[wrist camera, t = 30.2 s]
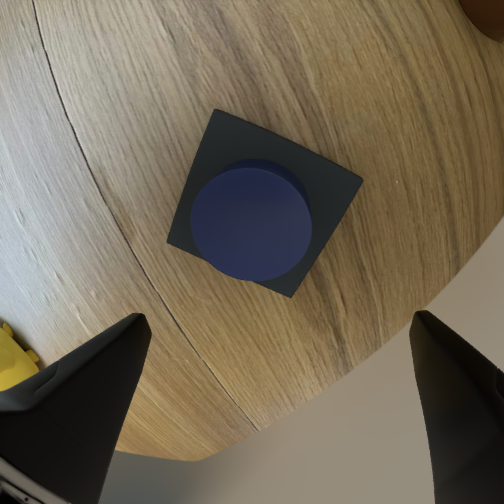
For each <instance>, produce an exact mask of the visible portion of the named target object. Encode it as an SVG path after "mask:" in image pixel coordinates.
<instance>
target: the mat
mask: <svg viewBox="0 0 504 504" xmlns="http://www.w3.org/2000/svg"><path fill="white" fill-rule="evenodd" d="M246 159H263V160H268V161H272V162H274V163H277V164H279V165H281V166H283V167H285V168H286V169H288V170H289V171H290V172H292V173H293V174H294V175H295V176H296V177H297V178H298V180H299V181H300V182H301V184H302V185H303V187H304V189H305V191H306V193H307V196H308V199H309V204H310V211H311V218H312V237H311V241H310V245H309V247H308V249H307V252H306V254H305V255H304V257H303V258H302V259H301V261H300V262H299V263H298V264H297V265H296V266H295V267H294V268H292V269H291V270H290V271H288V272H287V273H285V274H283V275H281V276H279V277H276V278H273V279H269V280H264V281H252V282H255V283H257V284H259V285H262V286H264V287H266V288H268V289H271V290H273V291H275V292H278V293H280V294H282V295H285V296H287V297H289V298H291V297H292V296H293V294H294V293H295V291H296V290H297V288H298V287H299V285H300V284H301V282H302V281H303V279H304V278H305V276H306V275H307V273H308V271H309V270H310V268H311V267H312V265H313V264H314V262H315V261H316V259H317V257H318V256H319V254H320V253H321V251H322V249H323V248H324V246H325V245H326V243H327V241H328V240H329V238H330V237H331V235H332V233H333V232H334V230H335V228H336V227H337V225H338V223H339V222H340V220H341V218H342V217H343V215H344V213H345V212H346V210H347V208H348V207H349V205H350V203H351V202H352V200H353V198H354V196H355V195H356V193H357V191H358V190H359V188H360V186H361V184H362V183H363V179H362V178H361V177H359V176H358V175H356V174H354V173H352V172H351V171H349V170H347V169H345V168H343V167H342V166H340V165H338V164H336V163H334V162H332V161H330V160H328V159H327V158H325V157H323V156H321V155H319V154H317V153H315V152H313V151H311V150H309V149H307V148H305V147H303V146H301V145H299V144H297V143H295V142H293V141H291V140H288V139H286V138H284V137H282V136H280V135H278V134H276V133H273V132H271V131H269V130H267V129H264V128H262V127H260V126H258V125H255V124H253V123H251V122H248V121H246V120H243V119H241V118H239V117H236V116H234V115H231V114H229V113H226V112H224V111H221V110H218V109H214V111H213V113H212V116H211V118H210V120H209V123H208V125H207V128H206V130H205V133H204V135H203V138H202V140H201V143H200V146H199V148H198V151H197V153H196V156H195V159H194V161H193V164H192V167H191V170H190V172H189V175H188V178H187V181H186V184H185V187H184V189H183V192H182V195H181V198H180V201H179V204H178V207H177V210H176V213H175V216H174V219H173V223H172V226H171V229H170V232H169V235H168V239H167V243H169V244H171V245H173V246H175V247H177V248H179V249H181V250H184V251H186V252H188V253H190V254H192V255H195V256H197V257H199V258H201V259H203V260H205V261H207V260H206V259H205V258H204V257H203V256H202V254H201V253H200V251H199V250H198V248H197V246H196V244H195V242H194V239H193V236H192V231H191V221H190V219H191V211H192V207H193V204H194V201H195V199H196V197H197V195H198V194H199V192H200V191H201V189H202V188H203V187H204V186H205V185H206V184H207V183H208V182H209V181H210V180H211V179H212V178H213V177H214V176H215V175H217V174H218V173H219V172H220V171H221V170H222V169H224V168H225V167H227V166H228V165H230V164H232V163H235V162H238V161H241V160H246Z"/></svg>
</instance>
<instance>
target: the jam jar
mask: <svg viewBox="0 0 504 504" xmlns="http://www.w3.org/2000/svg"><path fill="white" fill-rule="evenodd" d="M459 2H460V4H461V6H462V8H463V10H464V11H465V13H466V14H467V16H468V17H469V19H470V20H471V21H472V22H473V23H474V24H475V26H476V27H477V28H478V29H479V30H480V31H482V32H483V33H484V34H485V35H487V36H488V37H490V38H492V39H494V40H496V41H499V42H504V0H459Z"/></svg>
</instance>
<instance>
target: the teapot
mask: <svg viewBox="0 0 504 504" xmlns="http://www.w3.org/2000/svg"><path fill="white" fill-rule="evenodd" d="M12 337H13V331H12V330H11V328H10V327H9V326H8V325H7V324H6V323H4V324H3V329H1V328H0V391H3V390H6V389H9V388H11V387H12V386H14V385H16V384H18V383H20V382H22V381H24V380H25V379H27V378H29V377H31V376H33V375H34V374H36V373H38V372H40V371H39V369H38V367H37V366H36V364H35V362H37V361H39V357H38V356H37V355H36V354H35V353H34V352H33V351H32V350H30V349H29V350H28V351H26V352H24V350H23V349H22V348H21V347H20V346H19V345H18V344H17V343H16V342H15V341H14V340H13V339H12Z"/></svg>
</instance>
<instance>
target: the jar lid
mask: <svg viewBox="0 0 504 504" xmlns="http://www.w3.org/2000/svg"><path fill="white" fill-rule="evenodd" d="M190 221H191V231H192V236H193V239H194V242H195V244H196V246H197V248H198V250H199V251H200V253H201V254H202V256H203V257H204V258H205V259H206V260H207V261H208V262H209V263H210V264H211V265H212V266H213V267H215V268H216V269H217V270H219V271H221V272H222V273H224V274H226V275H228V276H231V277H233V278H236V279H241V280H246V281H264V280H269V279H273V278H276V277H279V276H281V275H283V274H285V273H287V272H288V271H290V270H291V269H292V268H294V267H295V266H296V265H297V264H298V263H299V262H300V261H301V259H302V258H303V257H304V255H305V254H306V252H307V249H308V247H309V245H310V241H311V237H312V218H311V211H310V204H309V199H308V196H307V193H306V191H305V189H304V187H303V185H302V184H301V182H300V181H299V180H298V178H297V177H296V176H295V175H294V174H293V173H292V172H290V171H289V170H288V169H286V168H285V167H283V166H281V165H279V164H277V163H274V162H272V161H268V160H263V159H246V160H241V161H238V162H235V163H232V164H230V165H228V166H227V167H225V168H224V169H222V170H221V171H220V172H219V173H218V174H217V175H215V176H214V177H213V178H212V179H211V180H210V181H209V182H208V183H207V184H206V185H205V186H204V187H203V188H202V189H201V191H200V192H199V194H198V195H197V197H196V199H195V201H194V204H193V207H192V211H191V219H190Z"/></svg>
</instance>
